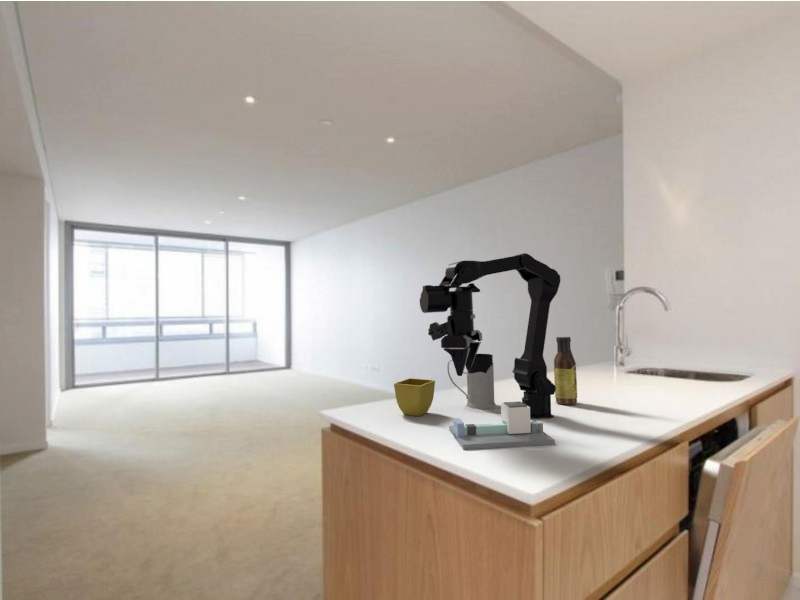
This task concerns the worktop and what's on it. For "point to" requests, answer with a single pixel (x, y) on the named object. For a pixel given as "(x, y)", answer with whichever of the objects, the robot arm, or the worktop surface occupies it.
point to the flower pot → (414, 395)
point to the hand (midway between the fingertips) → (464, 372)
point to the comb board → (497, 435)
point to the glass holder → (480, 383)
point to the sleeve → (516, 417)
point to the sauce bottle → (565, 373)
